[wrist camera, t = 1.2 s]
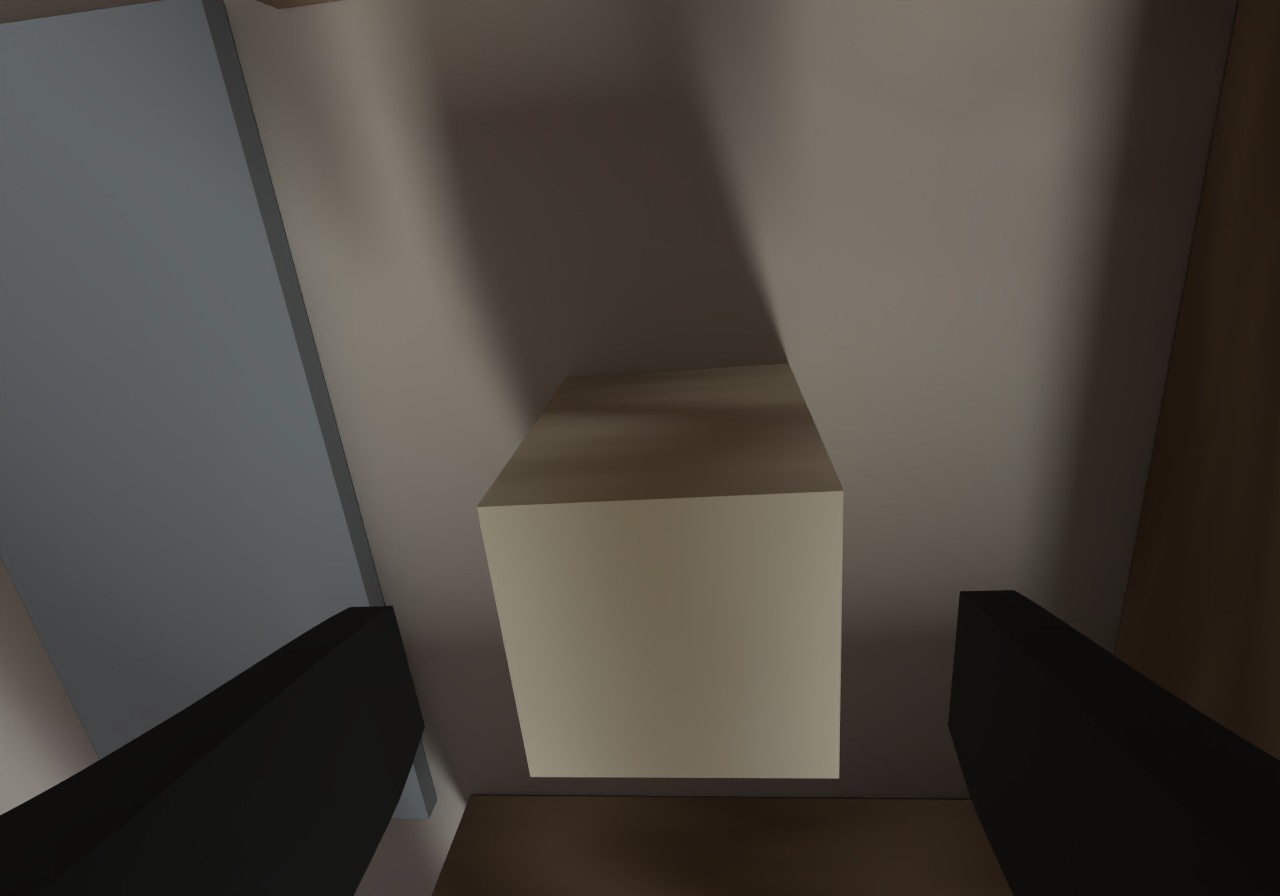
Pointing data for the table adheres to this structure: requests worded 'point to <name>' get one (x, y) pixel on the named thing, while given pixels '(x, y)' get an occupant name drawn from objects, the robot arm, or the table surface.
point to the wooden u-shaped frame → (1150, 627)
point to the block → (672, 578)
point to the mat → (159, 375)
